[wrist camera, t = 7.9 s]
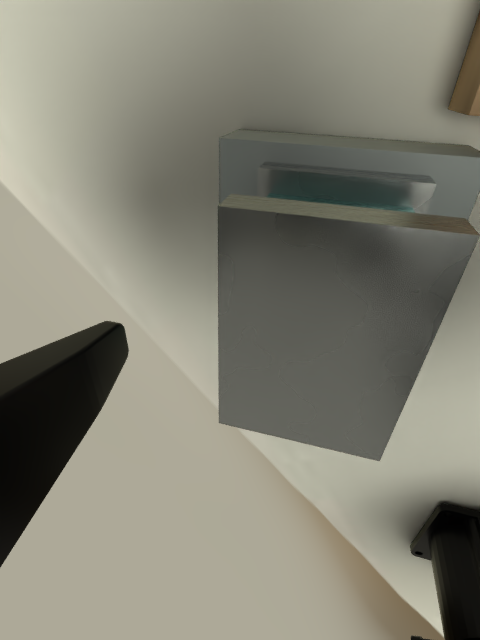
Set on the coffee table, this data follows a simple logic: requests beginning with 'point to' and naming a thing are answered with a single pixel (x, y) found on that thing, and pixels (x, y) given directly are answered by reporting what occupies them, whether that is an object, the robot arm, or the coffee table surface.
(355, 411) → the housing
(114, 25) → the coffee table surface
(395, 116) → the coffee table surface
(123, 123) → the coffee table surface
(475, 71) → the stand
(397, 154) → the stand
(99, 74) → the coffee table surface
